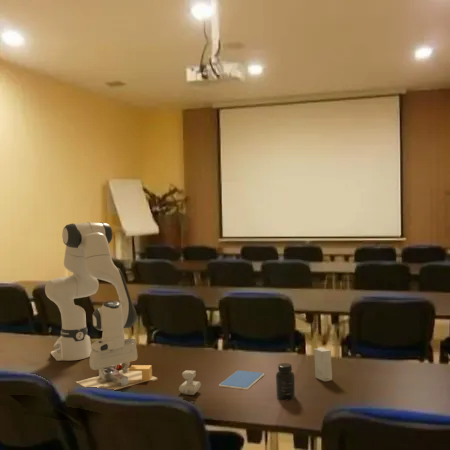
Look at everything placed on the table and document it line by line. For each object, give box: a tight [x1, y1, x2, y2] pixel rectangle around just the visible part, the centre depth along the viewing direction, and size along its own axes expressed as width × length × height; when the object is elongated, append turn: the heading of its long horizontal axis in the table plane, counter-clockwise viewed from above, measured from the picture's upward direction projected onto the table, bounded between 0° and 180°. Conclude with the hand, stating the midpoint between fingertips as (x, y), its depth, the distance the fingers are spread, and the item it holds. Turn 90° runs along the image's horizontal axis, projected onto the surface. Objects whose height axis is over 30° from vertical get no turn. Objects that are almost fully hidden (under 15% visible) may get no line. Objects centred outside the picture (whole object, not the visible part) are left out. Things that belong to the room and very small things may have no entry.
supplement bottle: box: [275, 362, 296, 401], centre depth 200 cm, size 7×7×12 cm
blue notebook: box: [218, 369, 265, 391], centre depth 220 cm, size 19×13×1 cm, turn 155°
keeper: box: [128, 364, 153, 381], centre depth 224 cm, size 8×5×6 cm, turn 85°
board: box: [75, 367, 158, 391], centre depth 223 cm, size 20×26×1 cm
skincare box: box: [313, 346, 333, 382], centre depth 218 cm, size 6×4×12 cm
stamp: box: [178, 370, 202, 396], centre depth 207 cm, size 9×7×8 cm
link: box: [98, 368, 128, 387], centre depth 221 cm, size 16×6×3 cm, turn 40°
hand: (114, 375), depth 221 cm, fingers open, 8 cm apart
